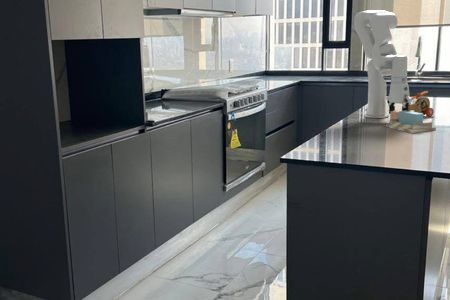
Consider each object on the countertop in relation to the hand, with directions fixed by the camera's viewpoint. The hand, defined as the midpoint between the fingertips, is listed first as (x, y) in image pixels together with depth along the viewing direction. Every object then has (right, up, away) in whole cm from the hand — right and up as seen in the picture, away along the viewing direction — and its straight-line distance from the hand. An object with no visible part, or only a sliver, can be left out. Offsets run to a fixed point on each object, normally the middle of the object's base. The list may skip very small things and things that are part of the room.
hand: (398, 114), depth 251 cm
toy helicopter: (+16, -1, +16) cm, 22 cm away
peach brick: (0, -4, +2) cm, 5 cm away
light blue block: (+1, -6, -13) cm, 15 cm away
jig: (+1, -8, -13) cm, 15 cm away
